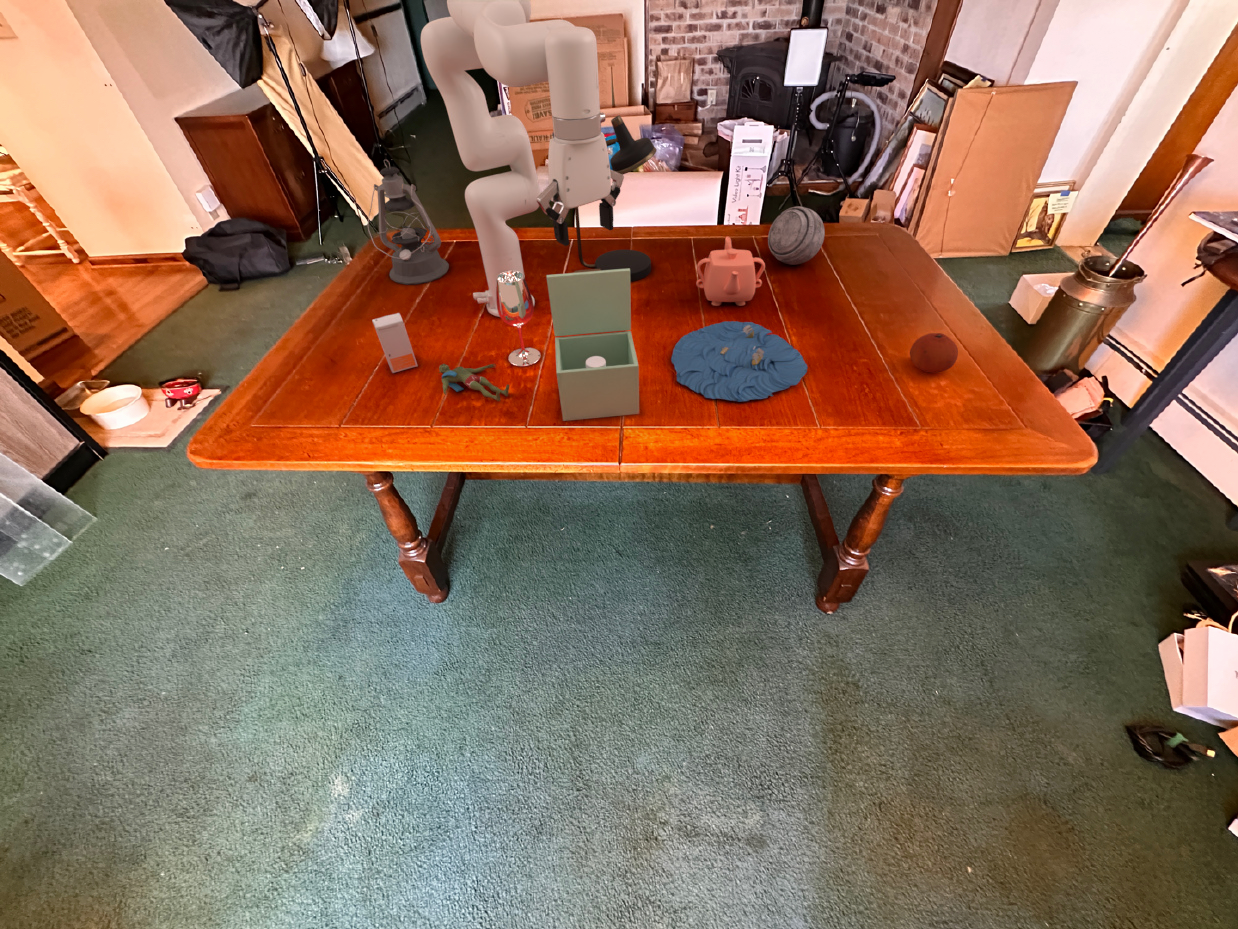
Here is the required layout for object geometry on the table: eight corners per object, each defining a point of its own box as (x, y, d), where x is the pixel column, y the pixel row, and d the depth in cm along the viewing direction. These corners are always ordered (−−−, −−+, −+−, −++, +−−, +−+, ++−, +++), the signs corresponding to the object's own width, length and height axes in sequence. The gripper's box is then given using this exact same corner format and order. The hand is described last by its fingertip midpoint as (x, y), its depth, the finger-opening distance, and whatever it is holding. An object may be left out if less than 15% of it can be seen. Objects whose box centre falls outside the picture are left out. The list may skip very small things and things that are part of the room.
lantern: (384, 293, 155) (342, 178, 134) (388, 263, 169) (351, 154, 148) (450, 284, 157) (419, 169, 136) (448, 254, 171) (420, 146, 150)
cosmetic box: (392, 374, 127) (374, 328, 118) (389, 365, 130) (371, 319, 121) (419, 366, 129) (403, 320, 120) (415, 357, 131) (399, 311, 123)
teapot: (730, 319, 139) (736, 270, 130) (684, 295, 148) (686, 248, 139) (770, 299, 145) (778, 251, 136) (723, 277, 154) (728, 231, 146)
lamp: (656, 281, 154) (658, 123, 127) (578, 284, 155) (563, 126, 128) (654, 256, 166) (655, 105, 138) (581, 258, 166) (568, 109, 139)
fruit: (896, 362, 123) (908, 330, 118) (928, 353, 125) (941, 321, 120) (926, 384, 117) (940, 351, 112) (958, 373, 119) (974, 341, 114)
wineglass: (546, 351, 131) (534, 270, 117) (532, 369, 126) (518, 287, 112) (517, 346, 133) (501, 265, 119) (501, 364, 128) (484, 282, 114)
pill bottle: (607, 410, 114) (604, 371, 107) (582, 407, 115) (578, 367, 108) (614, 394, 117) (612, 355, 110) (590, 391, 118) (586, 352, 112)
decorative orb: (755, 258, 162) (762, 205, 152) (793, 246, 167) (803, 194, 156) (790, 278, 153) (800, 222, 142) (829, 265, 157) (842, 210, 147)
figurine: (478, 402, 111) (412, 374, 117) (479, 418, 113) (415, 390, 120) (526, 372, 122) (464, 348, 128) (527, 388, 124) (465, 364, 131)
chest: (639, 413, 114) (638, 365, 105) (563, 421, 113) (556, 373, 105) (631, 377, 123) (630, 330, 114) (561, 384, 122) (555, 337, 114)
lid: (630, 270, 104) (627, 257, 107) (546, 277, 103) (545, 264, 106) (630, 330, 114) (628, 316, 117) (554, 336, 113) (554, 323, 116)
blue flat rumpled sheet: (795, 421, 112) (801, 401, 108) (654, 392, 120) (654, 373, 116) (814, 339, 131) (819, 320, 127) (690, 319, 139) (691, 300, 135)
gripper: (606, 112, 93) (610, 216, 105) (517, 133, 86) (533, 242, 98) (634, 120, 89) (635, 228, 101) (543, 143, 82) (556, 256, 94)
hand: (585, 235), depth 100 cm, fingers open, 9 cm apart
